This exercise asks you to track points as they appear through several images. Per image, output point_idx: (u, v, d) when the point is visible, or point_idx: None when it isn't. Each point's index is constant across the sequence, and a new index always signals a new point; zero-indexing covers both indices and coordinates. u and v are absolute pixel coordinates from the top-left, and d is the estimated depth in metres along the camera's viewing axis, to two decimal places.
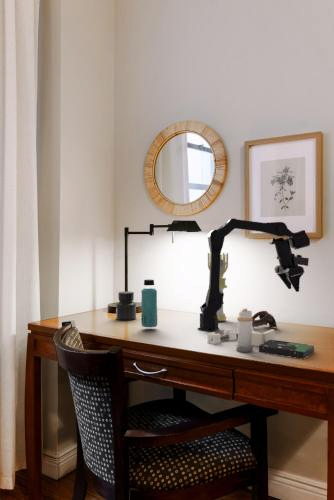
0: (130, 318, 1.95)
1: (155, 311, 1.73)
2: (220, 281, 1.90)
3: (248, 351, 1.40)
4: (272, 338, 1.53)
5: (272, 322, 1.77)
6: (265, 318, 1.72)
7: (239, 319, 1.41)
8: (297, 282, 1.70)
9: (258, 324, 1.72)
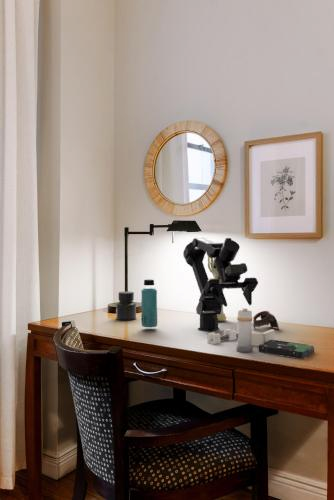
0: (130, 318, 1.95)
1: (155, 311, 1.73)
2: (220, 281, 1.90)
3: (248, 351, 1.40)
4: (272, 338, 1.53)
5: (273, 322, 1.77)
6: (267, 318, 1.71)
7: (239, 319, 1.41)
8: (220, 296, 1.50)
9: (260, 324, 1.72)
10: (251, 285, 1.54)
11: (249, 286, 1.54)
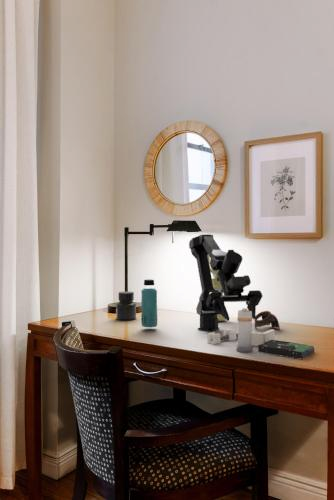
0: (130, 318, 1.95)
1: (155, 311, 1.73)
2: None
3: (248, 351, 1.40)
4: (272, 338, 1.53)
5: (275, 322, 1.77)
6: (268, 318, 1.71)
7: (239, 319, 1.41)
8: (222, 310, 1.45)
9: (261, 324, 1.72)
10: (255, 298, 1.48)
11: (253, 299, 1.48)
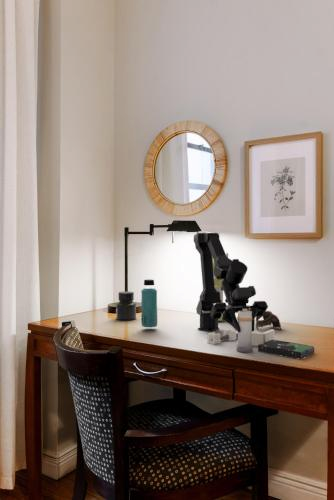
0: (130, 318, 1.95)
1: (155, 311, 1.73)
2: (220, 281, 1.90)
3: (248, 351, 1.40)
4: (272, 338, 1.53)
5: (276, 322, 1.77)
6: (269, 318, 1.71)
7: (239, 319, 1.41)
8: (233, 321, 1.42)
9: (262, 324, 1.71)
10: (254, 310, 1.44)
11: (252, 311, 1.44)
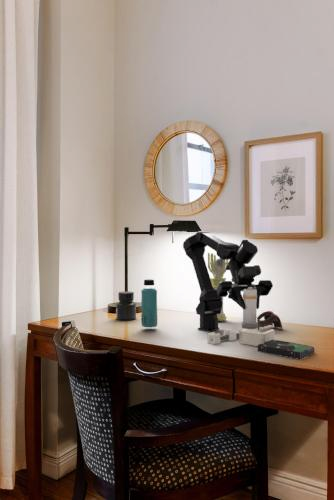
0: (130, 318, 1.95)
1: (155, 311, 1.73)
2: (220, 281, 1.90)
3: (253, 327, 1.45)
4: (272, 338, 1.53)
5: (277, 322, 1.77)
6: (271, 318, 1.71)
7: (244, 297, 1.46)
8: (238, 298, 1.47)
9: (264, 325, 1.71)
10: (259, 288, 1.49)
11: (257, 289, 1.49)
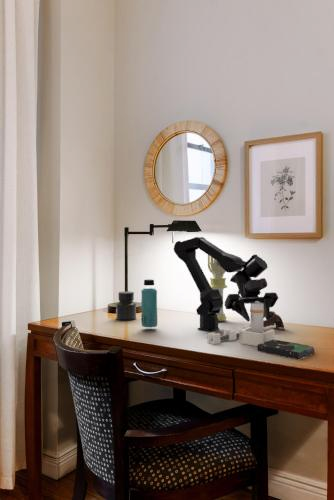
0: (130, 318, 1.95)
1: (155, 311, 1.73)
2: (220, 281, 1.90)
3: None
4: (272, 338, 1.53)
5: (279, 323, 1.76)
6: (273, 319, 1.70)
7: (252, 311, 1.51)
8: (242, 311, 1.52)
9: (266, 325, 1.71)
10: (269, 300, 1.55)
11: (267, 301, 1.55)
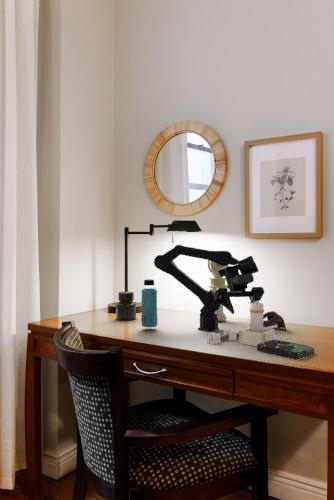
0: (130, 318, 1.95)
1: (155, 311, 1.73)
2: (220, 281, 1.90)
3: None
4: (272, 338, 1.53)
5: (280, 323, 1.76)
6: (274, 319, 1.70)
7: (251, 311, 1.51)
8: (228, 304, 1.61)
9: (267, 325, 1.71)
10: (258, 294, 1.64)
11: (255, 295, 1.64)
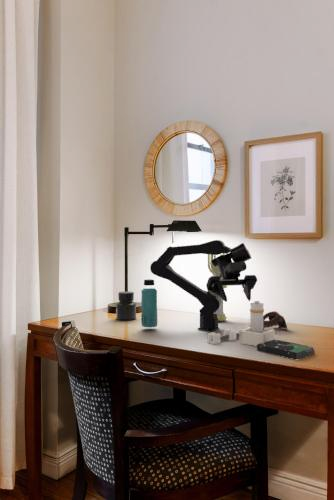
0: (130, 318, 1.95)
1: (155, 311, 1.73)
2: None
3: None
4: (272, 338, 1.53)
5: (282, 323, 1.76)
6: (276, 319, 1.70)
7: (251, 311, 1.51)
8: (220, 292, 1.61)
9: (269, 325, 1.70)
10: (250, 282, 1.64)
11: (248, 283, 1.64)
